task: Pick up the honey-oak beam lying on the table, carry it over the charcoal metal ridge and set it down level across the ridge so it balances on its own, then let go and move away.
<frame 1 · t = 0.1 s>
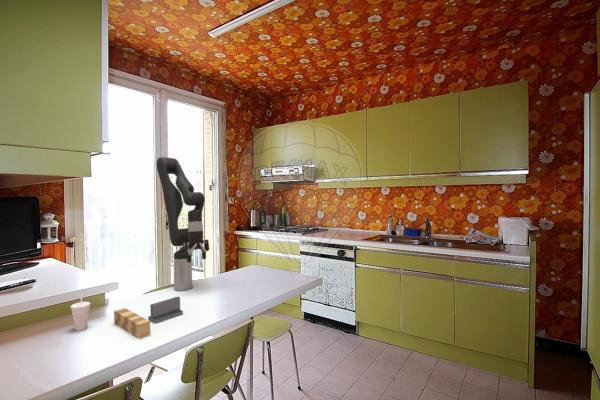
hand: (196, 260, 161), 17 cm above the table, tool pointing down, fingers open, 8 cm apart
ridge: (166, 317, 130), on the table
oak beam: (131, 329, 119), on the table
smoothie: (81, 329, 120), on the table
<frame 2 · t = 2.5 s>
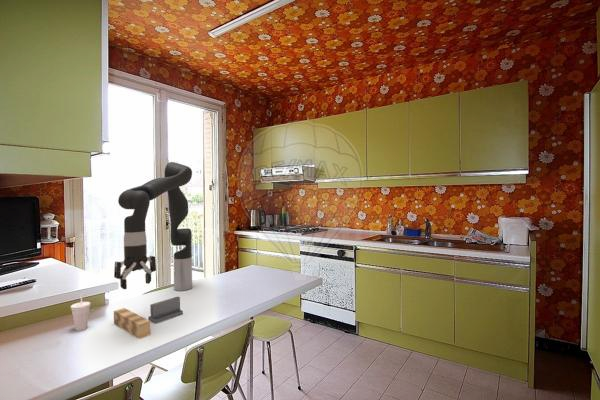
hand: (136, 286, 116), 18 cm above the table, tool pointing down, fingers open, 8 cm apart
nothing on the table moved.
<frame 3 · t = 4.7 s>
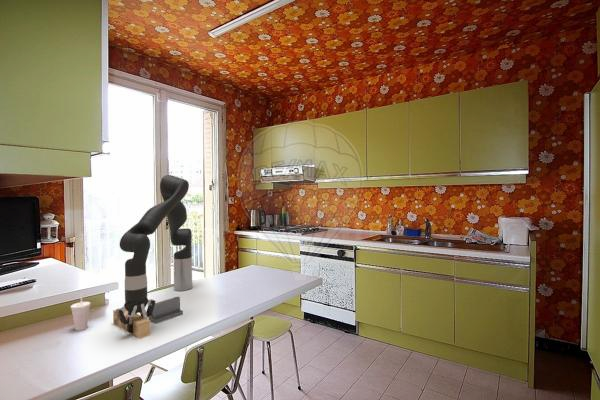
hand: (137, 330, 116), 1 cm above the table, tool pointing down, fingers closed on oak beam, 4 cm apart
oak beam: (131, 329, 119), on the table, touching gripper
everything else where it was.
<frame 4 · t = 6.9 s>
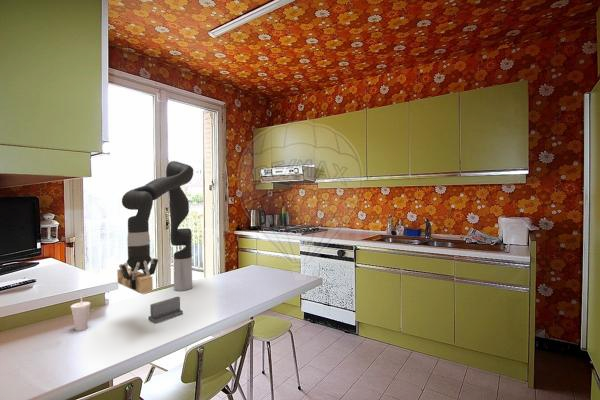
hand: (139, 287, 117), 17 cm above the table, tool pointing down, fingers closed on oak beam, 4 cm apart
oak beam: (134, 286, 121), point 16 cm above the table, touching gripper
everything else where it was.
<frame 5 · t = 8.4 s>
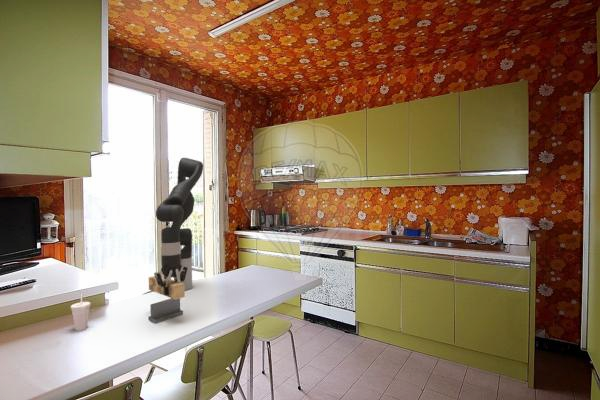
hand: (172, 293, 127), 11 cm above the table, tool pointing down, fingers closed on oak beam, 4 cm apart
oak beam: (166, 293, 130), point 10 cm above the table, touching gripper
everything else where it was.
when the fingers open (8 cm above the table, at t = 9.5 s): oak beam stays where it is, resting on ridge.
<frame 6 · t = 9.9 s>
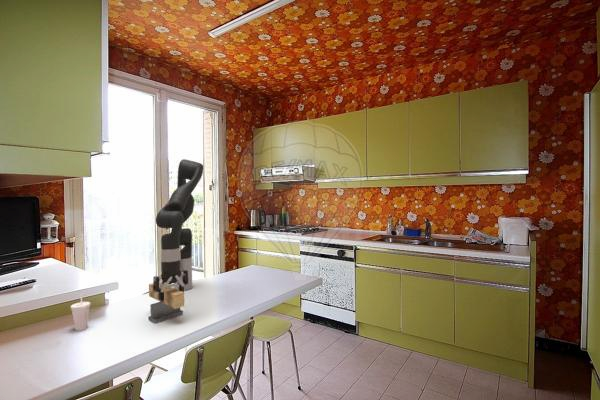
hand: (171, 298, 127), 9 cm above the table, tool pointing down, fingers open, 8 cm apart
oak beam: (166, 300, 130), point 7 cm above the table, touching ridge
everything else where it was.
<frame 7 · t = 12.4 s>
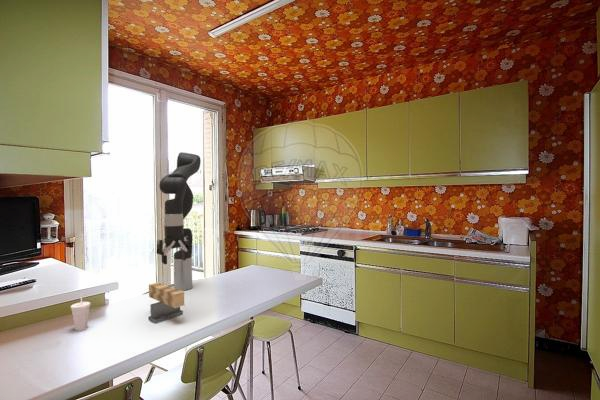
hand: (174, 262, 130), 23 cm above the table, tool pointing down, fingers open, 8 cm apart
nothing on the table moved.
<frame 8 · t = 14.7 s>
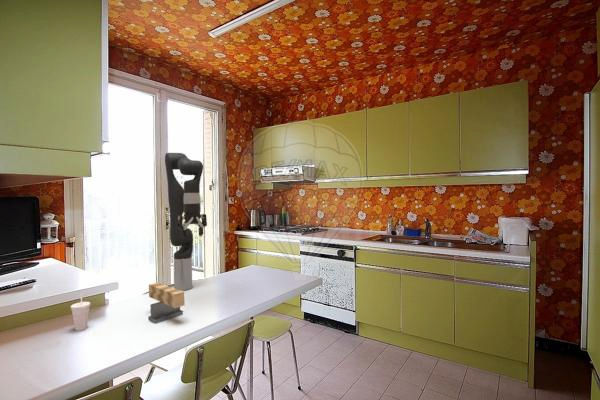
hand: (192, 236, 145), 32 cm above the table, tool pointing down, fingers open, 8 cm apart
nothing on the table moved.
at the end: oak beam inside the target area on the ridge (0.2 cm from its centre), point 7.0 cm above the ridge's base; oak beam tilted 0°; oak beam touching ridge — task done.
